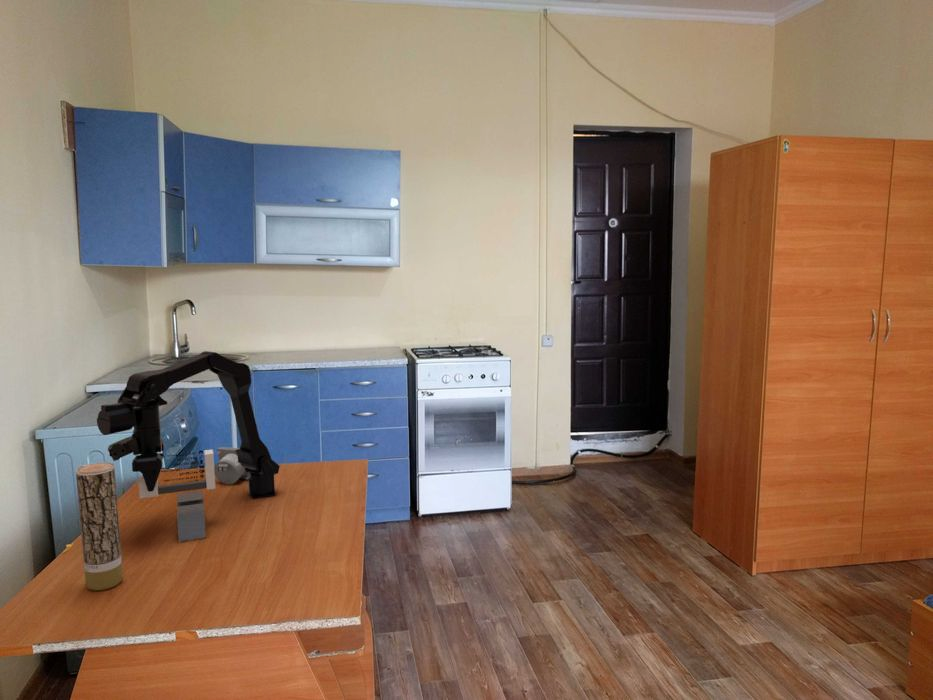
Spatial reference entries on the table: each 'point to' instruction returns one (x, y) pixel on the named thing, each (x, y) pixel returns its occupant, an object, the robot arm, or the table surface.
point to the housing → (190, 516)
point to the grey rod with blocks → (172, 488)
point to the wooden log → (99, 525)
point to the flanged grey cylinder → (220, 466)
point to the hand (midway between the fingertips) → (151, 488)
